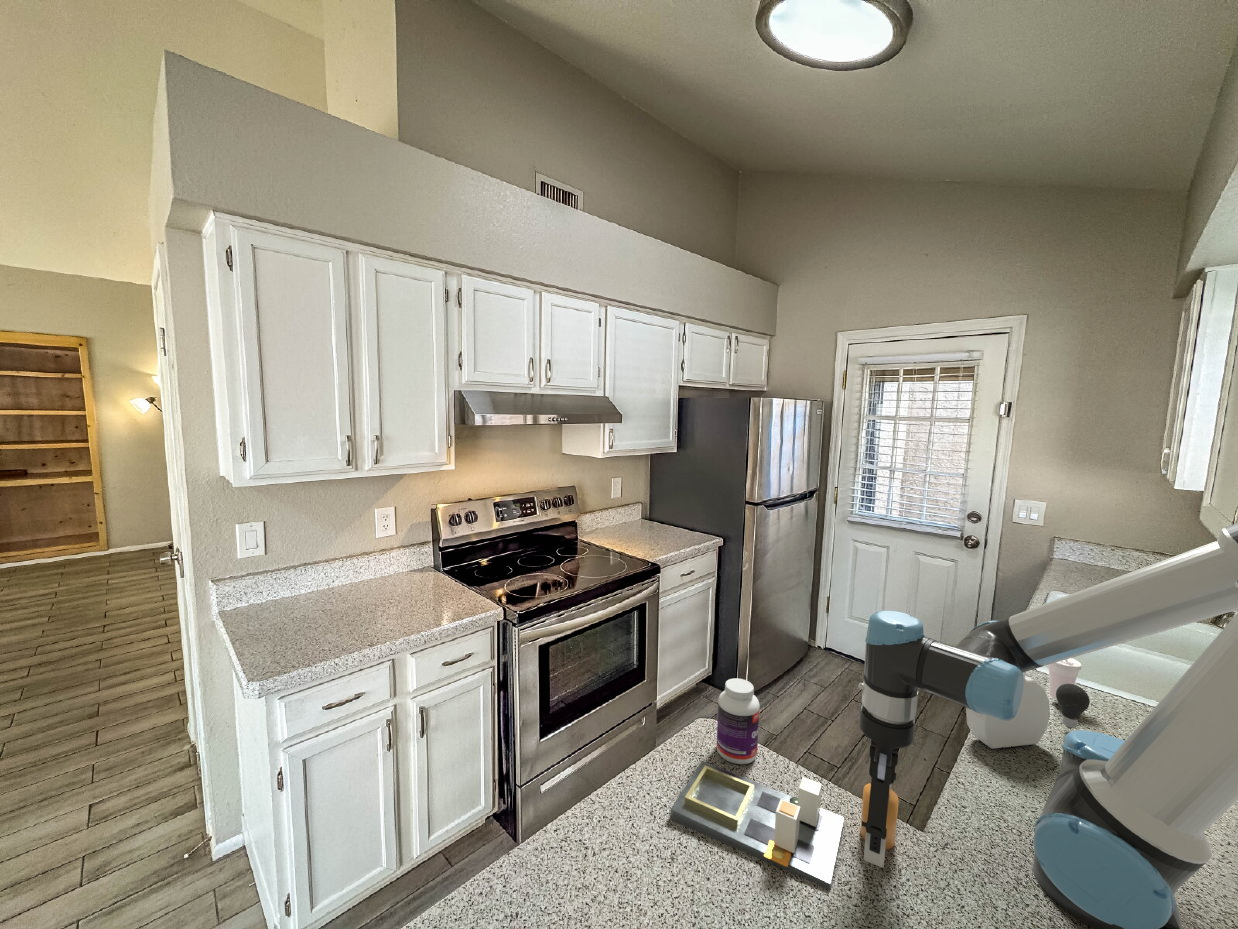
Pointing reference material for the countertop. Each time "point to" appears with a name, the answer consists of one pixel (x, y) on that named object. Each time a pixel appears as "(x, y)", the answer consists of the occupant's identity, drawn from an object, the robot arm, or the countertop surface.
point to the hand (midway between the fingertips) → (876, 838)
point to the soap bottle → (1015, 720)
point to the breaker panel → (756, 822)
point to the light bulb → (1072, 703)
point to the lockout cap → (891, 815)
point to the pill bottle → (738, 722)
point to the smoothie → (1062, 674)
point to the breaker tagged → (787, 825)
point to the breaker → (809, 801)
